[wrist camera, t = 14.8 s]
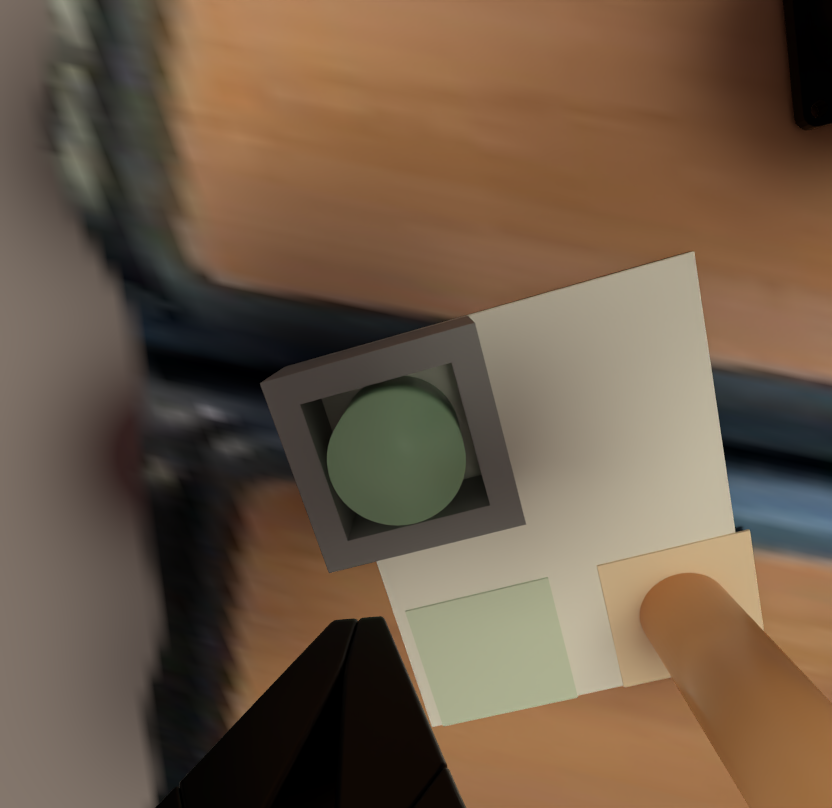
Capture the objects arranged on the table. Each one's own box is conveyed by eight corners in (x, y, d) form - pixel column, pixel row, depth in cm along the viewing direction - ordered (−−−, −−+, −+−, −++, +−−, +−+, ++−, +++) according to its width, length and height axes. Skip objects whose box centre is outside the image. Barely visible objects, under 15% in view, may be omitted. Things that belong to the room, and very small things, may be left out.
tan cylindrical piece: (631, 584, 21) (867, 946, 10) (722, 563, 20) (1076, 911, 9) (648, 658, 21) (883, 1071, 10) (735, 638, 21) (1077, 1044, 10)
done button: (326, 393, 19) (308, 415, 16) (442, 361, 18) (445, 377, 15) (362, 500, 20) (351, 539, 17) (472, 472, 19) (481, 507, 16)
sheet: (285, 366, 19) (259, 383, 16) (704, 247, 18) (758, 242, 15) (410, 725, 23) (408, 791, 20) (761, 649, 22) (813, 707, 19)
